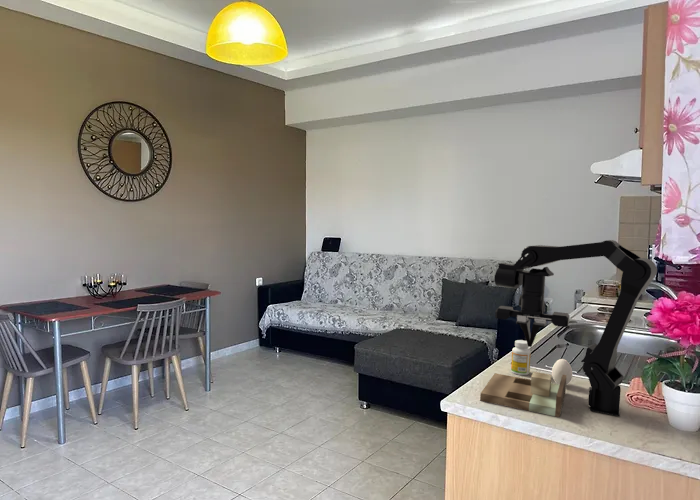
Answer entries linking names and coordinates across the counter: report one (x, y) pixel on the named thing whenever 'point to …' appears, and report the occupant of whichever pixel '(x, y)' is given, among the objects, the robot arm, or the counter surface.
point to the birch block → (541, 384)
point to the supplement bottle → (521, 358)
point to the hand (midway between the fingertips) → (530, 346)
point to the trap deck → (523, 394)
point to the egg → (561, 371)
